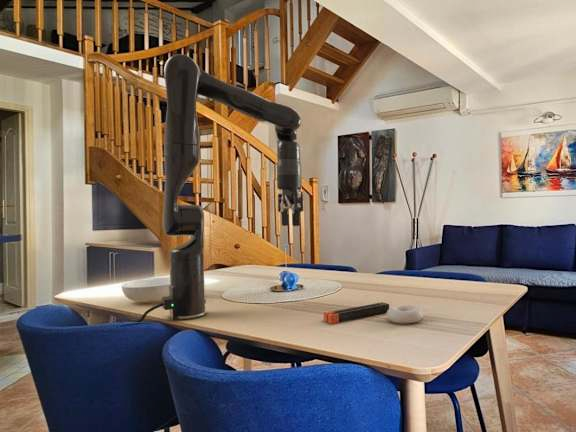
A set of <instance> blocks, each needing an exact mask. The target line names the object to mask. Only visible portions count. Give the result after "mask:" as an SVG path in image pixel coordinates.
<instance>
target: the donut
mask: <svg viewBox="0 0 576 432" xmlns="http://www.w3.org/2000/svg"><path fill="white" fill-rule="evenodd" d="M423 316H424V312H423V310H422V309H421V308H420V307H419V306H416V305H412V304H411V305H409V304H401V305H395V306H392V307H389V310H388V311H387V313H386V318H387V319H388V321H389V322H391V323H394V324H401V325H402V324H403V325H407V324H414V323H418V322H419V321H421V320H422V319H423Z"/></svg>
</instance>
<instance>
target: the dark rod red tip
mask: <svg viewBox="0 0 576 432" xmlns="http://www.w3.org/2000/svg"><path fill="white" fill-rule="evenodd" d="M389 309H390V303H386V302H376V303H371V304H365V305H359V306H354V307H349V308H348V307H347V308H344V309H343V308H342V309H338V310H337V309H336V310H330V311H325V312H323V321H324V322H326V323H328V324H330V325H334V324H339V323H342V322H345V321H351V320H352V321H353V320H358V319H361V318H366V317H367V318H368V317H371V316H376V315H382V314H387V311H388V310H389Z"/></svg>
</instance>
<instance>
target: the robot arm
mask: <svg viewBox="0 0 576 432" xmlns="http://www.w3.org/2000/svg"><path fill="white" fill-rule="evenodd" d="M163 76H164V81H165V82H164V83H165V92H166V115H165V123H164V139H163V142H164V143H163V144H164V145H163V152H164V154H163V156H164V161H163V162H164V191H163V204H162V205H163V206H162V230H163V233H164V235H165V236H167V237H187V236H190V237H189V239H188V241H186V242H185V243H183V244H182V245H179V246H177V247H174V248H172V249H170V250H169V256H168V257H169V277H170V285H169V296H168V297H162V302H160V303H159V304H156V305H154V306H152V307H150V308H148V309H147V310H145V312H144V313H143V314H142V316H141V317H140V318H139V319H137V320H135V321H134V320H133V322H139V323H141V322H142V321H143V320H144V319H145V318H146V317H147V315H148V314H149V313H151V312H153V311H155V310H156V309H158V308H161V307H162V309H163V310H164V311H169V317H170V319H172V320H173V321H177V320H191V319H197V318H200V317H203V316H205V315H206V303H207V301H206V294H205V292H206V290H205V261H204V260H205V259H204V257H205V256H204V255H205V254H204V251H205V250H204V249H205V247H204V244H205V242H204V241H205V239H204V238H205V235H204V233H205V214H204V210H203V207H202V206H201V205H199V204H178V199H179V195H180V193H181V191H182V188H183V187H184V185H185V183H186V182H187V181H188V180H189V178H190V177H191V175H193V173H194V172H195V170H196V169H197V167H198V165H199V163H200V152H201V149H200V148H201V147H200V145H201V144H200V142H201V141H200V129H199V120H198V115H197V100H198V99H197V97H198V95H199V96H201V97H205V98H208V99H210V100H213V101H215V102H217V103H220V104H221V105H224V106H226V107H227V108H230V109H232V110H234V111H236V112H238V113H240V114H242V115H245V116H247V117H249V118H251V119H254V120H255V121H259V122H261V123H264V122H267V123H269V124H272V125H274V133H275V139H276V143H277V144H276V145H277V147H276V156H277V157H276V161H277V162H276V187H277V190H281V191H282V192H281V193H278V194H277V212H278V213H279V214H280V216H281V219H280V220H281V227H282V226H283V227H288V226H289V225H290V215H289V213H290V210H291V213H292V214H291V223H292V224H291V225H292V226H293V227H299V226H300V225H301V213H302V212H304V194H303V191H298V190H301V189H302V188H303V183H302V182H303V181H302V179H303V177H302V163H301V146H300V143H299V142H298V129H299V128H300V127H301V125H302V116H301V115H300V113H299V112H298V111H297V110H296V109H294V108H292V107H290V106H288V105H285V104H282V103H278V102H275V101H271V100H270V99H269V100H268V99H267V98H265V97H263V96H261V95H258V94H257V93H254V92H252V91H250V90H248V89H245V88H242V87H239V86H237V85H233V84H231V83H228V82H225V81H223V80H221V79H219V78H216V77H214V76H213V75H212V74H209V73H208V72H206V71H205V70H203V69H202V68H200V66H199V65H198V64H197V62H196V61H195V60H194V59H193V58H191V57H190V56H188V55H187V54H183V53H177V54H173V55H171V56H170V57H169V58H168V59H167V60H166V61H165V63H164V66H163ZM123 322H124V321H120V322H119V323H123Z"/></svg>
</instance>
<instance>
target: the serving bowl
mask: <svg viewBox="0 0 576 432" xmlns="http://www.w3.org/2000/svg"><path fill="white" fill-rule="evenodd" d="M169 285H170V276H161V277H151V278H150V277H149V278H143V279H138V280H132V281H128V282H125V283H123V284H121V286H120V287H121V291H122V293H123V295H124V297H126V298H127V299H128V300H130V301H133V302H137V303H144V304H155V303H162V297H168V296H169Z"/></svg>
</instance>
